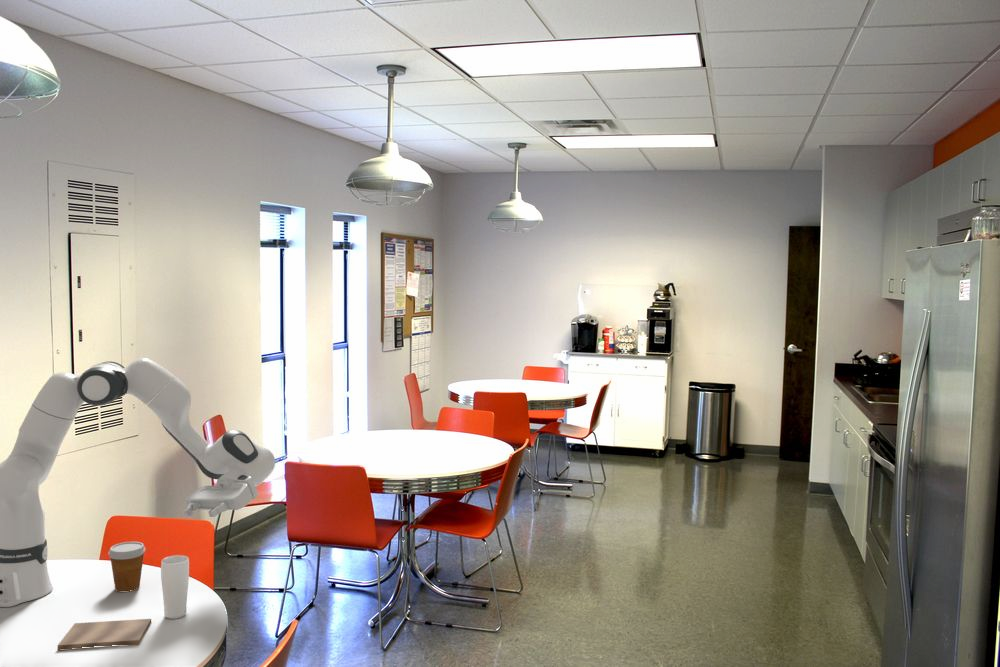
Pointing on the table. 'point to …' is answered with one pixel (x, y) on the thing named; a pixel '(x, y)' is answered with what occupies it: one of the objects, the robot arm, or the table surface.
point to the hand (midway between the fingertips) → (198, 514)
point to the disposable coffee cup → (127, 564)
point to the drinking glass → (175, 585)
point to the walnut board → (105, 633)
